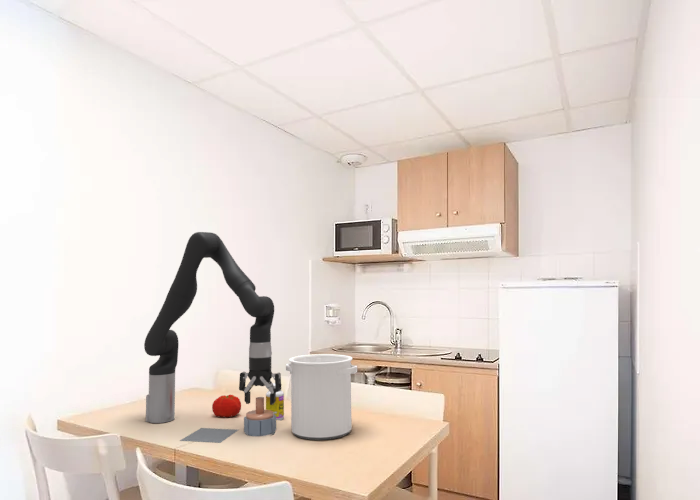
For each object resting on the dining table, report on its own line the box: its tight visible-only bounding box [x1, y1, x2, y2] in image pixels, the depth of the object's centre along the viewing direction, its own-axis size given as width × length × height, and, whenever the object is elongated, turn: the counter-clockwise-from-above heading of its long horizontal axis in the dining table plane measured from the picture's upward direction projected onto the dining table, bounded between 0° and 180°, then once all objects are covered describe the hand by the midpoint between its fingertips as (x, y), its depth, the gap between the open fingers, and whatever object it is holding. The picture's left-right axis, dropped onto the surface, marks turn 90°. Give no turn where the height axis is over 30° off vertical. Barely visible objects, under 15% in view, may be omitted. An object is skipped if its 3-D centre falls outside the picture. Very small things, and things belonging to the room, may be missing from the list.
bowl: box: [243, 414, 277, 437], centre depth 161 cm, size 10×10×6 cm
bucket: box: [285, 353, 358, 441], centre depth 163 cm, size 26×22×24 cm
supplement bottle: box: [265, 382, 285, 421], centre depth 178 cm, size 7×7×13 cm
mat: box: [179, 427, 239, 444], centre depth 158 cm, size 14×14×1 cm
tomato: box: [211, 394, 242, 419], centre depth 184 cm, size 11×11×8 cm
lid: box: [245, 396, 273, 420], centre depth 162 cm, size 9×9×6 cm
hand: (260, 403), depth 162 cm, fingers open, 8 cm apart
